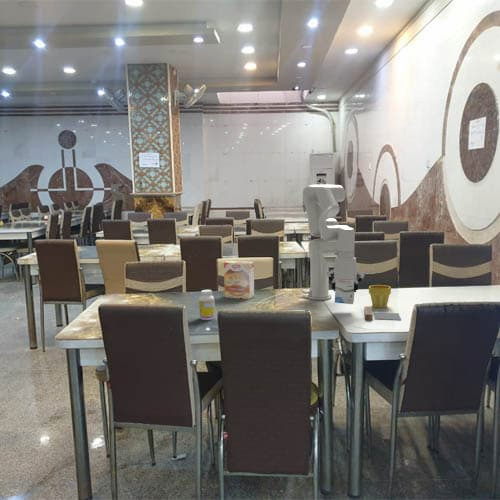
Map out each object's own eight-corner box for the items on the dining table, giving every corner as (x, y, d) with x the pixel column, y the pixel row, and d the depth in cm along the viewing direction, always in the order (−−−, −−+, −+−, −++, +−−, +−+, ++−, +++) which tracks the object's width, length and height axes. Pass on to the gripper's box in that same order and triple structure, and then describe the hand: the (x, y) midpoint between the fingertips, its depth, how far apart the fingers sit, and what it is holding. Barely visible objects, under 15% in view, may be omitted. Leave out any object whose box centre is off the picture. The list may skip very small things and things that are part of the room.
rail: (365, 320, 198) (365, 314, 197) (364, 311, 212) (364, 306, 212) (372, 320, 197) (372, 314, 197) (371, 311, 211) (371, 306, 211)
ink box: (334, 302, 211) (335, 271, 208) (335, 300, 215) (336, 269, 213) (353, 304, 208) (354, 273, 205) (354, 301, 213) (355, 270, 210)
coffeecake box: (224, 297, 247) (223, 262, 245) (229, 294, 254) (228, 260, 252) (249, 299, 242) (249, 263, 240) (254, 296, 248) (254, 261, 246)
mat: (374, 319, 199) (374, 318, 199) (373, 313, 209) (373, 312, 209) (401, 320, 196) (401, 319, 196) (398, 313, 207) (398, 313, 207)
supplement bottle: (200, 316, 208) (199, 289, 207) (214, 316, 209) (213, 288, 207) (199, 320, 202) (198, 292, 200) (214, 320, 202) (214, 291, 201)
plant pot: (366, 304, 227) (366, 284, 226) (387, 303, 227) (387, 284, 225) (371, 309, 217) (371, 288, 216) (393, 308, 216) (393, 288, 215)
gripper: (326, 255, 206) (325, 292, 209) (365, 256, 202) (364, 294, 205) (327, 252, 213) (326, 288, 216) (365, 253, 209) (363, 290, 212)
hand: (344, 291), depth 210 cm, fingers closed on ink box, 9 cm apart
